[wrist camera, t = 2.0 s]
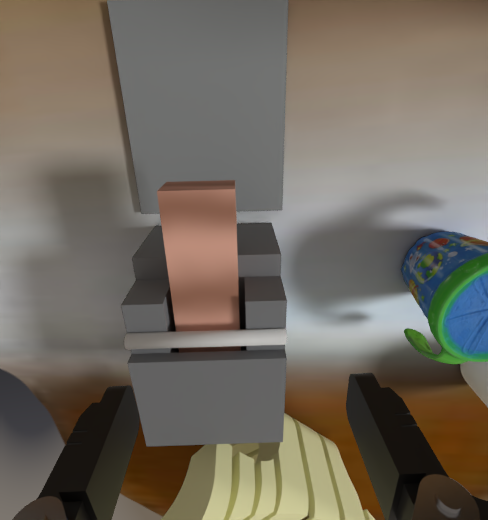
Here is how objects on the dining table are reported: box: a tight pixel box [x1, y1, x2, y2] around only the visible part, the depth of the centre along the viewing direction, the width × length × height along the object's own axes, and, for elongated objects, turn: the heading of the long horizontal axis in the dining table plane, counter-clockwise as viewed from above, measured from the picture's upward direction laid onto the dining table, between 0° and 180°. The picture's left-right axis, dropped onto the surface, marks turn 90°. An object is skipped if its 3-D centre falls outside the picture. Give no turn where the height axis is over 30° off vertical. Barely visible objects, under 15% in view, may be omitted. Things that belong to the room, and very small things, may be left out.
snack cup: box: [401, 232, 488, 364], centre depth 31 cm, size 16×10×10 cm
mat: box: [107, 0, 288, 214], centre depth 29 cm, size 17×14×1 cm
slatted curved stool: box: [161, 413, 375, 520], centre depth 39 cm, size 30×16×18 cm, turn 50°
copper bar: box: [157, 180, 241, 353], centre depth 25 cm, size 15×5×3 cm, turn 1°
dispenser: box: [121, 223, 287, 446], centre depth 31 cm, size 16×12×13 cm
